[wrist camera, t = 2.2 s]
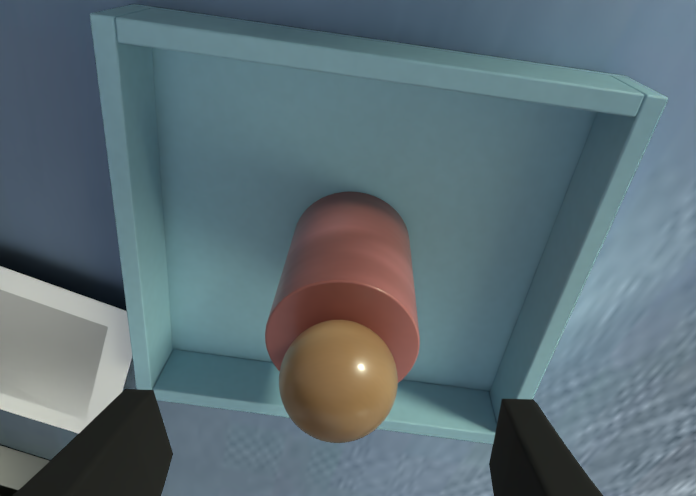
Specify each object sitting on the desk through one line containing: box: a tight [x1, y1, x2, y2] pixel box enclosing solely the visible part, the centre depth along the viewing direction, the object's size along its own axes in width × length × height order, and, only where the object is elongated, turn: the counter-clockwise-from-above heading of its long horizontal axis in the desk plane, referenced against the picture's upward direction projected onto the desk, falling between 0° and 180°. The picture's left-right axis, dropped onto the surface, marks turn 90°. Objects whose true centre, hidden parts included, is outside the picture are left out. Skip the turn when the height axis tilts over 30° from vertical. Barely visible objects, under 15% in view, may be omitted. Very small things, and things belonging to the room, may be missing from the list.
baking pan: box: [90, 4, 668, 444], centre depth 17 cm, size 14×13×2 cm
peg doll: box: [265, 192, 420, 443], centre depth 14 cm, size 4×4×8 cm
